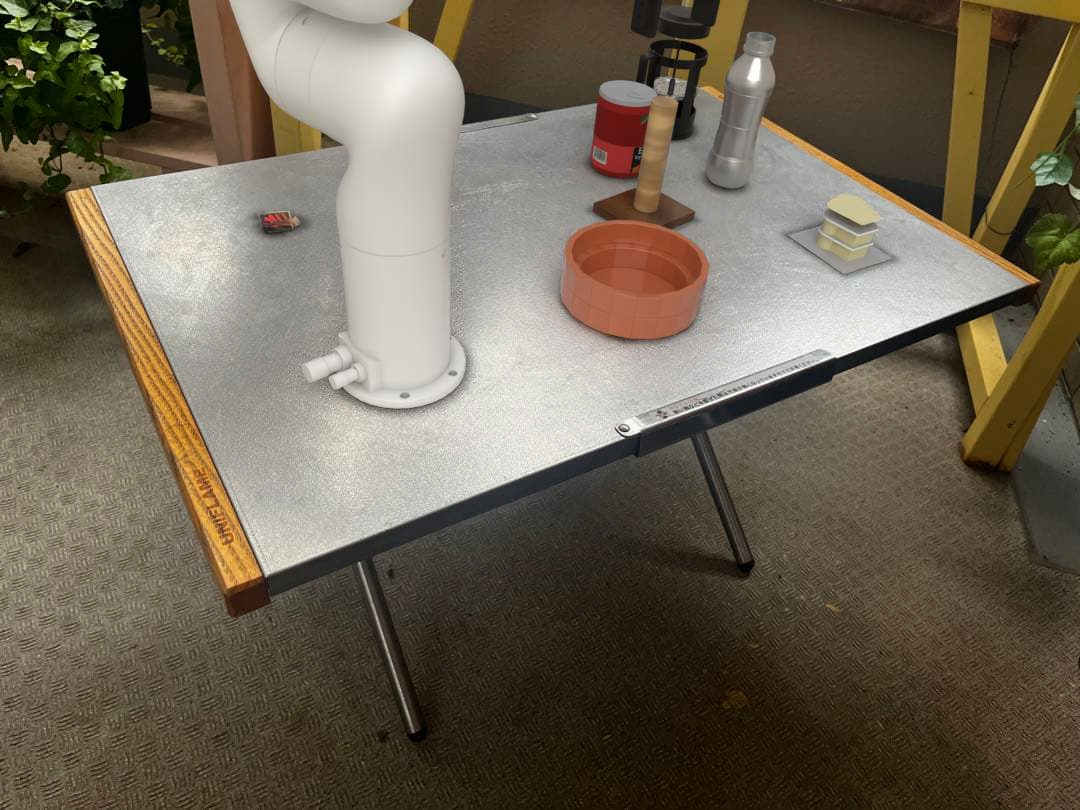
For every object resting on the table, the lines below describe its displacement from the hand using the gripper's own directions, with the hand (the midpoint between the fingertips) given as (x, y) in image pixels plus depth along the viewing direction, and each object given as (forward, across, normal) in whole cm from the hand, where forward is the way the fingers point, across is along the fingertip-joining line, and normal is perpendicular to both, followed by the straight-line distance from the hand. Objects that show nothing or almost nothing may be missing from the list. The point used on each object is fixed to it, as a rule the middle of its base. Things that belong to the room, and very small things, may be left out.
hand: (673, 28), depth 87 cm
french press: (+24, +26, +20) cm, 41 cm away
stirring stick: (+23, +3, +2) cm, 23 cm away
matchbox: (+25, -37, +25) cm, 51 cm away
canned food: (+24, +10, +14) cm, 30 cm away
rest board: (+24, +3, +2) cm, 24 cm away
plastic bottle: (+24, +20, +2) cm, 31 cm away
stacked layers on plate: (+24, +19, -18) cm, 36 cm away
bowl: (+25, -13, -11) cm, 30 cm away
